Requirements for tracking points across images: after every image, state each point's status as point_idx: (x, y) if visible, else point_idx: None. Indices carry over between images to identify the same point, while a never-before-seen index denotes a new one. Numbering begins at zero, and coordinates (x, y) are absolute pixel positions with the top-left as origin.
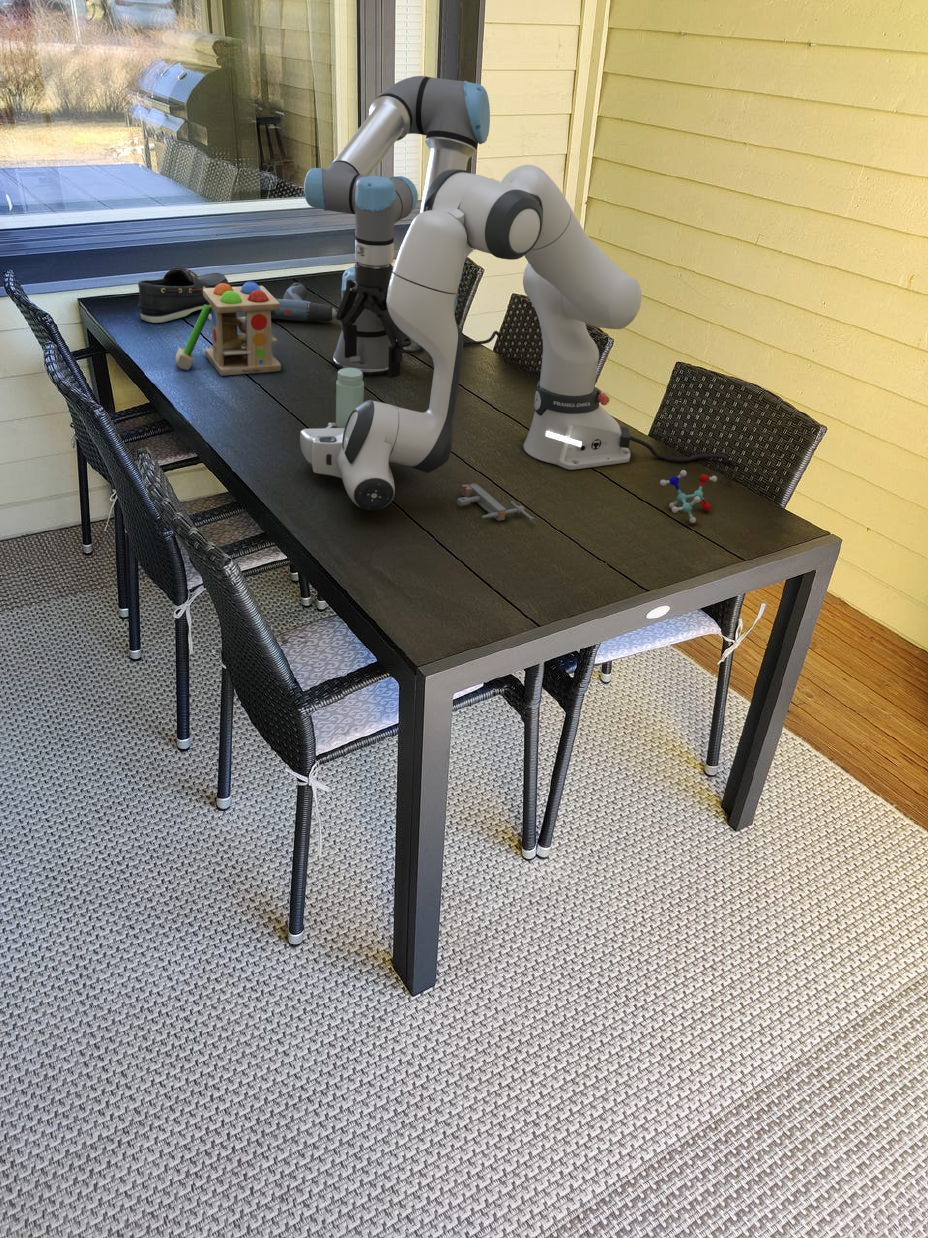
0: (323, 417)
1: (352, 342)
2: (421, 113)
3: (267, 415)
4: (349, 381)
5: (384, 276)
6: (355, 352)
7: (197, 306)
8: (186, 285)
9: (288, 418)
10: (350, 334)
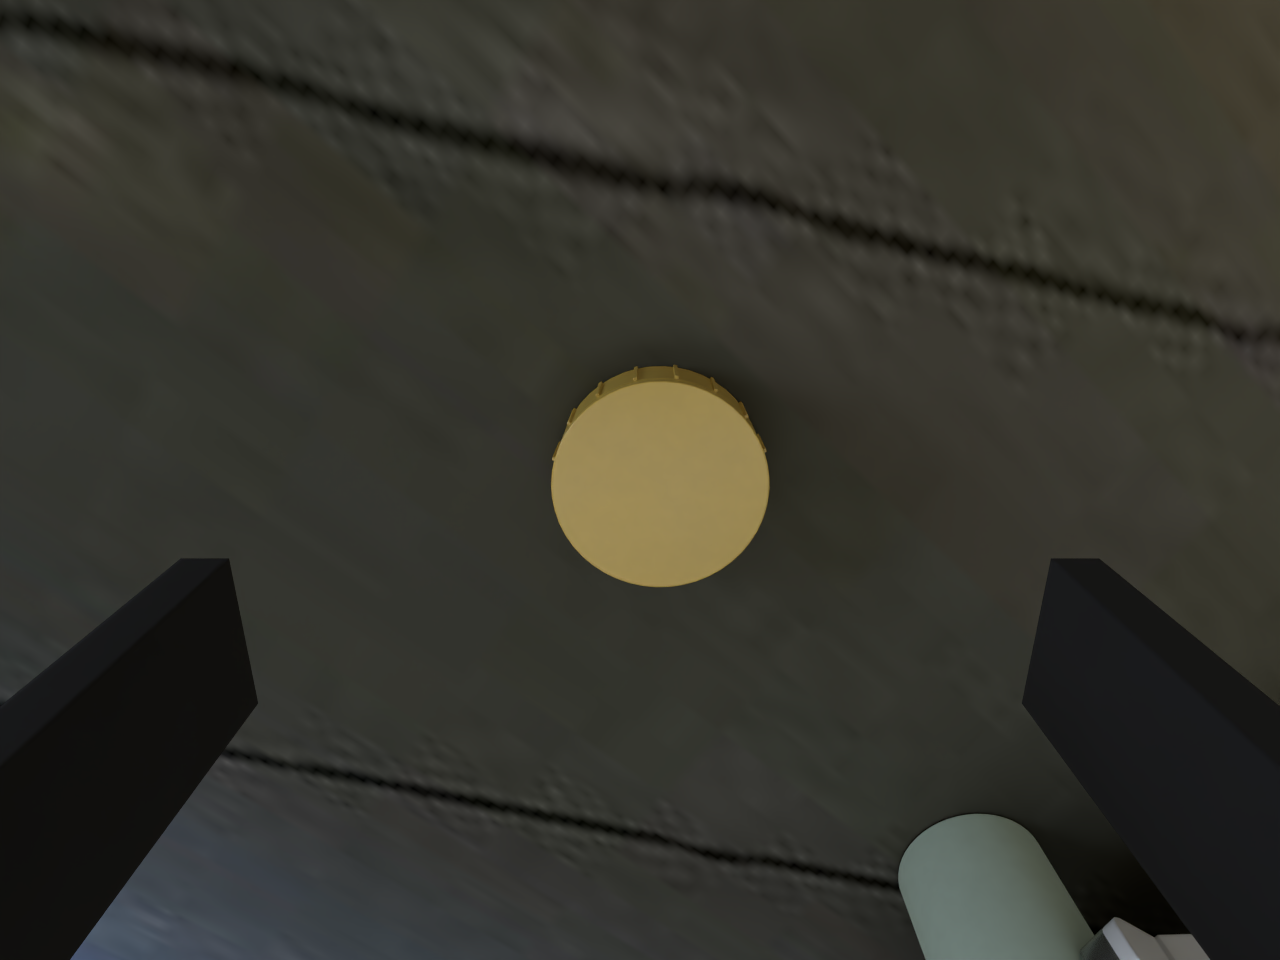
0: (462, 666)
1: (130, 756)
2: None
3: (276, 874)
4: None
5: None
6: (210, 598)
7: None
8: None
9: (369, 819)
10: (35, 915)
